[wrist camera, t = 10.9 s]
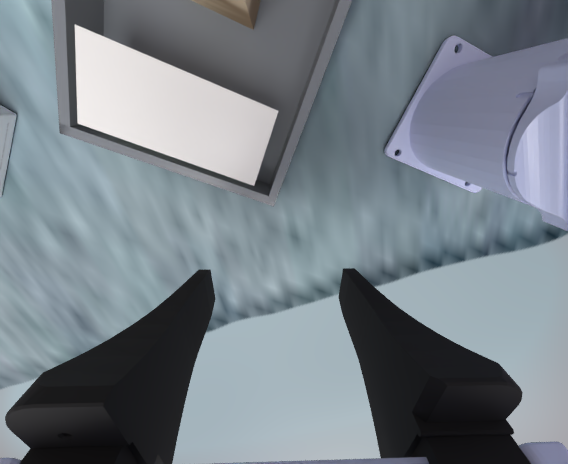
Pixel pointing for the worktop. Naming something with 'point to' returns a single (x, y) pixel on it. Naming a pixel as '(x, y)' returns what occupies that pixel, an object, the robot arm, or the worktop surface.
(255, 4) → the wood block
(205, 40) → the tray
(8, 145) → the small box
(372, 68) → the worktop surface
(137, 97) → the white box
